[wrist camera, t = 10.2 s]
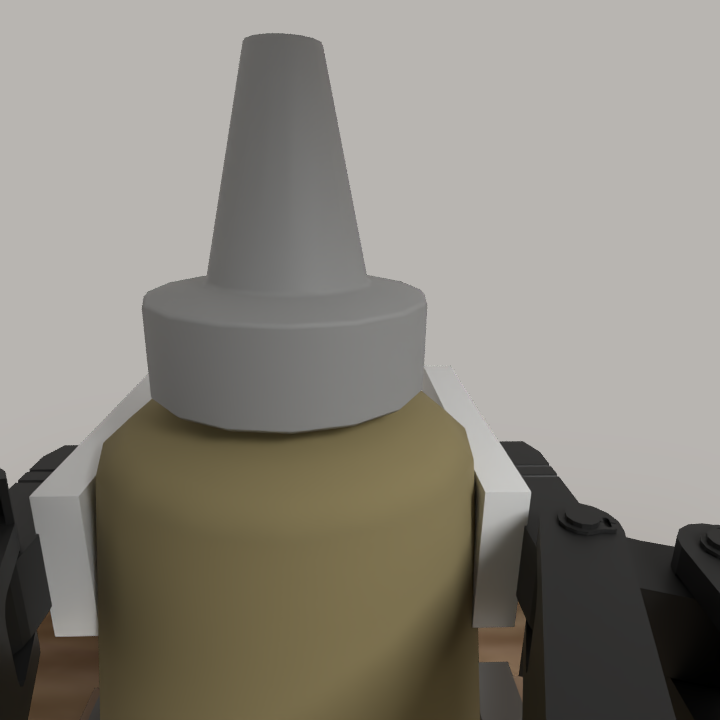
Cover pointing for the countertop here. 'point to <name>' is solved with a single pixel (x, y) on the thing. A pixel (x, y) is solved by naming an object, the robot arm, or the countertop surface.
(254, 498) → the squeeze bottle
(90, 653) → the countertop surface
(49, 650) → the countertop surface
